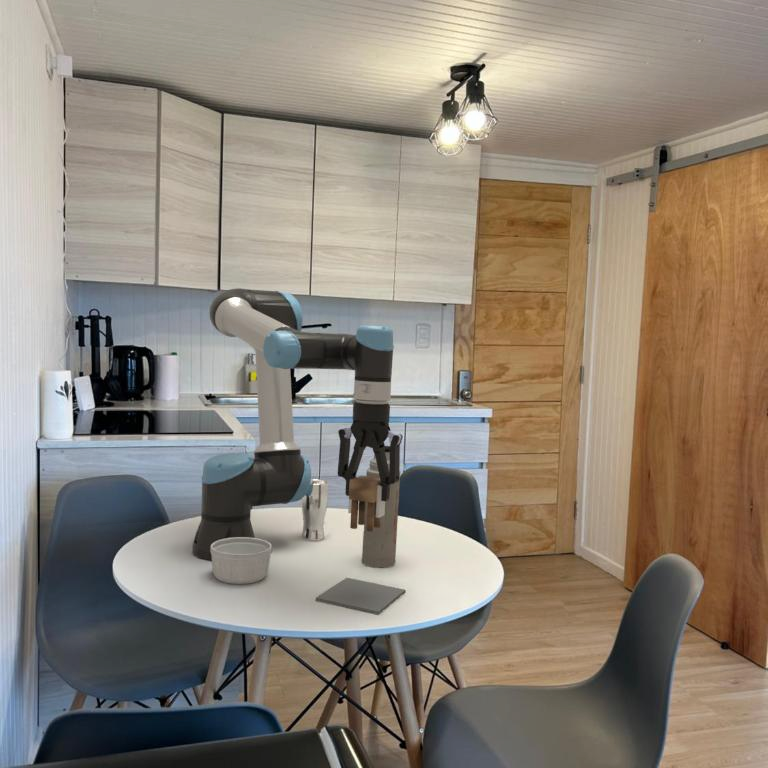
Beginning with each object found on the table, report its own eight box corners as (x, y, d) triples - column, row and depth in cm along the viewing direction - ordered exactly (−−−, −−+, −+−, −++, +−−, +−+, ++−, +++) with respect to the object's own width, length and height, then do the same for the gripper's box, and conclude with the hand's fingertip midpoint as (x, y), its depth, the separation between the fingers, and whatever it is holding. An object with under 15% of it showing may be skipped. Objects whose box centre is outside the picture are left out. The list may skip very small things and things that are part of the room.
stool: (347, 528, 146) (349, 479, 145) (359, 522, 151) (361, 475, 150) (371, 532, 144) (374, 483, 143) (383, 526, 149) (385, 478, 148)
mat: (315, 600, 145) (315, 597, 145) (346, 580, 158) (346, 577, 158) (378, 614, 139) (378, 611, 139) (405, 592, 152) (405, 589, 152)
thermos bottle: (397, 559, 174) (404, 445, 172) (391, 569, 166) (398, 450, 164) (366, 555, 176) (372, 442, 174) (358, 565, 168) (364, 447, 166)
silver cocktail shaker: (331, 537, 189) (334, 481, 188) (315, 543, 184) (317, 485, 182) (310, 532, 193) (313, 477, 192) (294, 537, 187) (296, 481, 186)
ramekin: (238, 562, 166) (239, 533, 165) (283, 574, 159) (284, 544, 159) (196, 577, 154) (197, 546, 154) (243, 591, 148) (244, 558, 147)
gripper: (322, 399, 146) (317, 511, 147) (407, 406, 138) (401, 524, 140) (339, 397, 153) (334, 504, 154) (420, 404, 145) (414, 516, 147)
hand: (366, 513), depth 147 cm, fingers closed on stool, 5 cm apart
